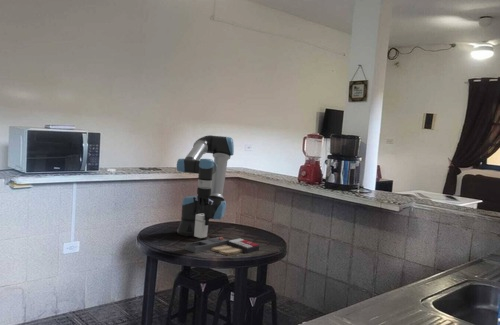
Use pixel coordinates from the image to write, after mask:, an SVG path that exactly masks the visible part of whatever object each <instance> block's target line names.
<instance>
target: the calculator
mask: <svg viewBox="0 0 500 325" xmlns="http://www.w3.org/2000/svg"><path fill="white" fill-rule="evenodd" d="M227 245H229V246H232V247H235V248H239V249H242V252H241V253H245V254H249V253H253V252H257V251H259V250H260V245H259V244H257V243H255V242H252V241H249V240H247V239H243V238H241V237H240V238H236V239H231V240H228V242H227Z"/></svg>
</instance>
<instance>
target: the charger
mask: <svg viewBox="0 0 500 325" xmlns="http://www.w3.org/2000/svg"><path fill="white" fill-rule="evenodd" d="M204 219H205V215H204V214H203V213H201V214H196V218H195V231H194V236H193V237H196V238H198V239H205V238H207V237H208V232H209V227H208V228H207V231H203V222H204Z"/></svg>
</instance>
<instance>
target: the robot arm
mask: <svg viewBox="0 0 500 325" xmlns="http://www.w3.org/2000/svg"><path fill="white" fill-rule="evenodd" d="M234 146H235V145H234V139H233V138H232V137H230V136H221V135H220V136H219V135H210V134H209V135H204V136H201V137H200V138H198V139H197V140H195V142H194V143H193V146H192V148H191V150H190V151H189V153H187V155H186V156H185V158H178V159H177V162H176V171H177V172H179V173H189V174H198V177H197V178H198V179H197V188H196V189H197V191H196V194H197V195H191V196H185V197H183V199H182V203H181V216H180V222H179V225H178V227H177V230H176V233H177V234H178V235H180V236H184V237H185V236H186V237H195V236H194V231H195V218H196V214H201V213H203V214H204V215H205V219H204V222H203V231H207V228H208V229H209V224H210V220H214V221H215V220H219V221H220V220H222V219H223V218H224V216H225V212H226V209H227V202H226V200H225V198H224V196H223V194H224V187H225V181H226V176H227V175H226V172H227V167H228V162H229V160H230V159H231V156H233V155H234V152H235V151H234V150H235V149H234ZM205 154H212V158H213V159H211V158H202V157H203V156H204V155H205Z"/></svg>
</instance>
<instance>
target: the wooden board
mask: <svg viewBox="0 0 500 325" xmlns="http://www.w3.org/2000/svg"><path fill="white" fill-rule="evenodd" d="M211 251H212V252H216V253H218V254H221V255H225V256H231V255H236V254H239V253H243V252H242V249H239V248H235V247H232V246H229V245H222V246H218V247H213V248H211Z"/></svg>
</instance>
